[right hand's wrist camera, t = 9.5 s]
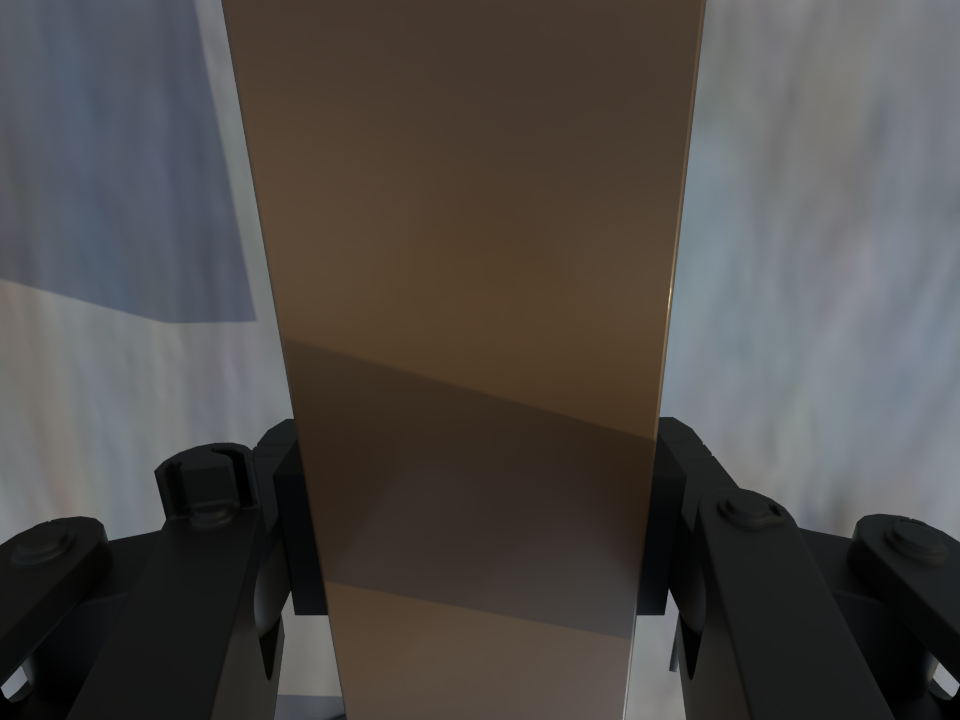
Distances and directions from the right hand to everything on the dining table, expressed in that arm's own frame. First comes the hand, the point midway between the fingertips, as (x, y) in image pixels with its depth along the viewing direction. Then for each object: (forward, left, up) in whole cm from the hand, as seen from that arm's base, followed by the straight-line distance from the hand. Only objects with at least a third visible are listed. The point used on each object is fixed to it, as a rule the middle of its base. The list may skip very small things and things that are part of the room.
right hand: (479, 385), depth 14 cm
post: (+8, +25, -1) cm, 26 cm away
